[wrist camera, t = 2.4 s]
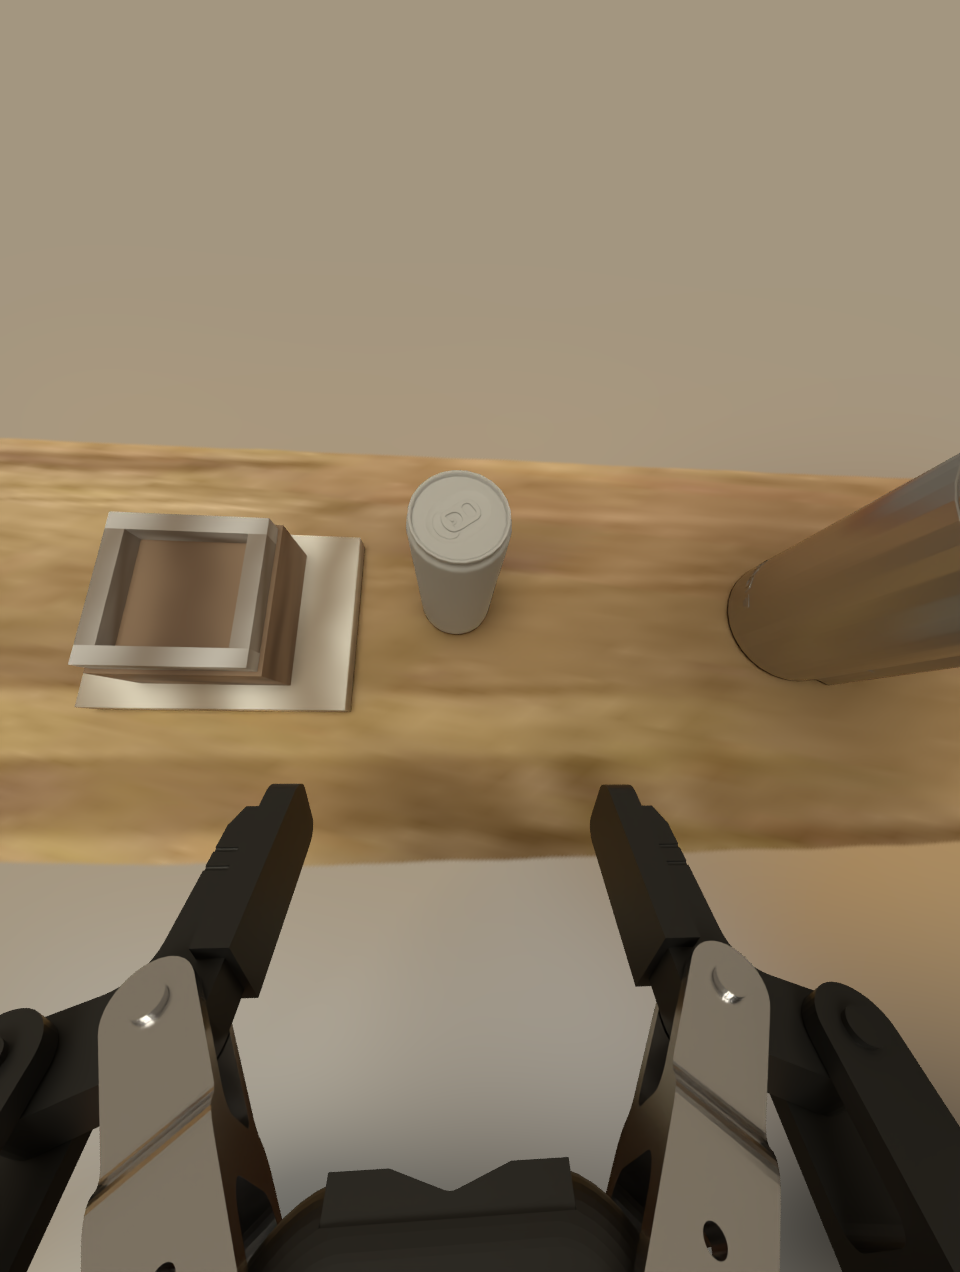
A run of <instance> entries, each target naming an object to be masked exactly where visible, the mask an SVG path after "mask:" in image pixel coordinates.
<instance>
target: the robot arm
mask: <svg viewBox="0 0 960 1272" xmlns="http://www.w3.org/2000/svg"><path fill="white" fill-rule="evenodd" d="M728 616H729V623H730V627H731V630H732V632H733V635H734V638H735V639H736V641H737V643H738V644H739V646H740V648H741V649H742V651H743V652H744V653H745V654H746V655H747V656H748V657H749V659H750V660H751V661H753V662H754V663H755V664H756V665H757V666H759V667H760V668H761V669H763V670H765V671H767V672H768V673H770V674H772V675H774V676H777V677H780V678H783V679H786V680H795V681H803V680H814V679H816V680H819V681H821V682H823V683H825V684H827V685H834V684H841V683H848V682H855V681H863V680H870V679H877V678H884V677H891V676H899V675H906V674H913V673H920V672H927V671H935V670H942V669H949V668H956V667H960V453H959V454H957V455H955V456H954V457H952V458H950V459H948V460H946V461H945V462H943V463H941V464H939V465H937V466H936V467H934V468H932V469H931V470H929V471H927V472H925V473H923V474H922V475H920V476H918V477H916V478H914V479H912V480H911V481H909V482H907V483H905V484H904V485H902V486H900V487H898V488H896V489H895V490H893V491H891V492H889V493H887V494H886V495H884V496H882V497H880V498H879V499H877V500H875V501H873V502H871V503H870V504H868V505H866V506H864V507H862V508H861V509H859V510H857V511H855V512H854V513H852V514H850V515H848V516H846V517H845V518H843V519H841V520H839V521H837V522H836V523H834V524H832V525H830V526H829V527H827V528H825V529H823V530H821V531H820V532H818V533H816V534H814V535H812V536H811V537H809V538H807V539H805V540H804V541H802V542H800V543H798V544H796V545H795V546H793V547H791V548H789V549H787V550H786V551H784V552H782V553H780V554H779V555H777V556H775V557H773V558H772V559H770V560H767V561H765V562H763V563H761V564H760V565H759V566H757V567H756V568H754V569H752V570H751V571H749V572H747V573H745V574H744V575H743V576H742V577H741V578H740V579H739V580H738V581H737V583H736V584H735V586H734V588H733V589H732V592H731V595H730V598H729V604H728ZM312 832H313V818H312V814H311V810H310V806H309V802H308V798H307V794H306V791H305V787H304V785H303V784H272V785H270V786H269V788H268V789H267V791H266V793H265V795H264V797H263V799H262V801H261V803H260V805H259V806H246V807H245V808H244V809H243V810H242V811H241V812H240V813H239V814H238V815H237V816H236V817H235V818H234V820H233V821H232V822H231V823H230V824H229V825H228V826H227V828H226V829H225V831H224V833H223V835H222V837H221V839H220V840H219V842H218V844H217V846H216V850H215V852H213V853H212V855H211V857H210V859H209V861H208V863H207V864H206V869H205V870H204V871H203V872H202V874H201V875H200V877H199V879H198V881H197V883H196V885H195V886H194V888H193V890H192V892H191V894H190V896H189V897H188V899H187V901H186V903H185V905H184V907H183V908H182V910H181V912H180V914H179V916H178V918H177V919H176V921H175V923H174V925H173V927H172V929H171V931H170V932H169V934H168V936H167V938H166V940H165V942H164V943H163V945H162V946H161V948H160V950H159V951H158V953H157V954H156V955H155V956H154V958H153V959H152V960H151V961H150V962H149V963H148V964H147V965H145V966H143V967H142V968H140V969H139V970H138V971H136V972H135V973H134V974H133V975H131V976H130V977H129V978H128V979H127V980H126V981H125V982H124V983H123V984H122V985H121V986H120V987H119V988H117V989H115V990H113V991H112V992H109V993H107V994H105V995H102V996H100V997H97V998H95V999H92V1000H89V1001H87V1002H84V1003H81V1004H79V1005H76V1006H73V1007H71V1008H68V1009H65V1010H63V1011H60V1012H57V1013H55V1014H52V1015H49V1016H47V1017H44V1016H43V1015H41V1014H40V1013H38V1012H37V1011H36V1010H33V1009H30V1008H21V1009H15V1010H12V1011H9V1012H6V1013H3V1014H1V1015H0V1272H27V1270H28V1268H29V1266H30V1264H31V1261H32V1259H33V1257H34V1255H35V1253H36V1250H37V1248H38V1246H39V1244H40V1242H41V1240H42V1238H43V1236H44V1233H45V1231H46V1229H47V1227H48V1225H49V1223H50V1220H51V1218H52V1216H53V1214H54V1212H55V1210H56V1207H57V1205H58V1203H59V1201H60V1199H61V1197H62V1194H63V1192H64V1190H65V1188H66V1186H67V1183H68V1181H69V1179H70V1177H71V1175H72V1173H73V1171H74V1169H75V1166H76V1164H77V1162H78V1160H79V1158H80V1156H81V1153H82V1151H83V1149H84V1147H85V1145H86V1143H87V1140H88V1138H89V1136H90V1134H91V1132H92V1130H93V1129H95V1128H97V1127H99V1126H100V1178H99V1183H98V1186H97V1189H96V1191H95V1192H94V1194H93V1195H92V1196H91V1198H90V1199H89V1201H88V1204H87V1207H86V1211H85V1215H84V1221H83V1227H82V1241H81V1272H780V1211H781V1210H780V1207H781V1185H780V1174H779V1168H778V1163H777V1160H776V1156H775V1155H774V1152H773V1151H772V1150H771V1149H770V1147H769V1145H768V1142H767V1138H766V1106H767V1093H769V1094H770V1095H771V1098H772V1100H773V1103H774V1105H775V1108H776V1110H777V1113H778V1115H779V1118H780V1120H781V1123H782V1125H783V1127H784V1130H785V1132H786V1135H787V1137H788V1140H789V1142H790V1145H791V1147H792V1149H793V1152H794V1154H795V1157H796V1159H797V1162H798V1164H799V1167H800V1169H801V1171H802V1174H803V1176H804V1179H805V1181H806V1184H807V1186H808V1189H809V1191H810V1194H811V1196H812V1199H813V1201H814V1203H815V1206H816V1208H817V1211H818V1213H819V1216H820V1218H821V1221H822V1223H823V1226H824V1228H825V1230H826V1233H827V1235H828V1238H829V1240H830V1243H831V1245H832V1248H833V1250H834V1252H835V1255H836V1257H837V1260H838V1262H839V1265H840V1267H841V1270H842V1272H960V1127H959V1125H958V1124H957V1122H956V1121H955V1119H954V1117H953V1116H952V1114H951V1113H950V1111H949V1110H948V1108H947V1107H946V1105H945V1104H944V1102H943V1101H942V1099H941V1098H940V1096H939V1095H938V1093H937V1091H936V1090H935V1088H934V1087H933V1085H932V1084H931V1082H930V1081H929V1079H928V1078H927V1076H926V1074H925V1073H924V1071H923V1070H922V1068H921V1067H920V1065H919V1064H918V1062H917V1061H916V1059H915V1058H914V1056H913V1055H912V1053H911V1051H910V1050H909V1048H908V1047H907V1045H906V1044H905V1042H904V1041H903V1039H902V1038H901V1036H900V1035H899V1033H898V1032H897V1030H896V1029H895V1027H894V1026H893V1024H892V1023H891V1022H890V1020H889V1019H888V1018H887V1017H886V1016H885V1014H884V1013H883V1012H882V1011H881V1010H880V1009H879V1008H878V1007H877V1006H876V1005H875V1004H874V1003H872V1002H871V1001H870V1000H869V999H868V998H866V997H865V996H864V995H862V994H861V993H859V992H858V991H856V990H854V989H853V988H851V987H849V986H846V985H844V984H841V983H837V982H826V983H823V984H821V985H820V986H819V987H818V988H817V989H815V990H811V989H808V988H805V987H802V986H799V985H797V984H794V983H791V982H788V981H785V980H782V979H780V978H777V977H774V976H771V975H769V974H766V973H764V972H762V971H760V970H758V969H756V968H755V967H754V966H753V965H752V964H751V963H750V962H749V961H748V960H747V959H746V958H745V957H744V956H743V955H742V954H741V953H739V952H738V951H737V950H735V949H734V948H732V946H730V944H729V943H728V941H727V940H726V938H725V937H724V936H723V934H722V932H721V930H720V928H719V926H718V924H717V922H716V920H715V918H714V916H713V914H712V912H711V910H710V908H709V906H708V904H707V902H706V900H705V898H704V896H703V894H702V891H701V889H700V887H699V885H698V883H697V881H696V879H695V877H694V875H693V873H692V871H691V869H690V867H689V865H687V864H686V859H685V857H684V855H683V853H682V851H681V849H680V848H679V847H678V843H677V841H676V839H675V837H674V835H673V833H672V831H671V829H670V827H669V824H668V823H667V822H666V821H665V820H664V818H663V817H662V816H661V815H660V814H659V813H658V812H657V811H656V810H655V809H654V808H653V806H641V803H640V801H639V799H638V797H637V794H636V792H635V790H634V789H633V787H632V786H631V785H602V786H601V787H600V790H599V793H598V796H597V799H596V803H595V806H594V809H593V812H592V815H591V820H590V832H591V839H592V843H593V846H594V850H595V853H596V856H597V859H598V863H599V866H600V869H601V873H602V876H603V879H604V883H605V886H606V889H607V893H608V896H609V899H610V903H611V906H612V909H613V913H614V915H615V919H616V923H617V926H618V929H619V933H620V935H621V939H622V942H623V945H624V949H625V953H626V956H627V959H628V963H629V966H630V969H631V972H632V976H633V979H634V982H635V986H652V989H653V993H654V995H655V999H656V1002H657V1003H656V1006H655V1009H654V1014H653V1018H652V1022H651V1026H650V1031H649V1035H648V1040H647V1043H646V1048H645V1052H644V1056H643V1061H642V1065H641V1069H640V1074H639V1078H638V1082H637V1087H636V1091H635V1095H634V1099H633V1103H632V1106H631V1109H630V1112H629V1115H628V1117H627V1120H626V1122H625V1125H624V1127H623V1130H622V1133H621V1136H620V1139H619V1142H618V1146H617V1150H616V1154H615V1158H614V1162H613V1166H612V1170H611V1174H610V1178H609V1182H608V1187H607V1191H606V1193H605V1192H603V1191H602V1190H601V1189H600V1188H598V1187H597V1186H596V1185H595V1184H593V1183H592V1182H591V1181H589V1180H587V1179H585V1178H584V1177H582V1176H581V1175H579V1174H577V1173H574V1172H572V1171H570V1165H569V1158H568V1157H563V1158H547V1159H533V1160H517V1161H510V1162H508V1163H506V1164H504V1165H502V1166H501V1167H499V1168H497V1169H495V1170H493V1171H491V1172H489V1173H487V1174H485V1175H483V1176H481V1177H479V1178H478V1179H476V1180H474V1181H472V1182H470V1183H468V1184H466V1185H464V1186H462V1187H461V1188H458V1189H456V1190H454V1191H446V1190H442V1189H440V1188H437V1187H435V1186H432V1185H430V1184H427V1183H425V1182H422V1181H419V1180H417V1179H414V1178H412V1177H409V1176H407V1175H404V1174H402V1173H399V1172H396V1171H394V1170H391V1169H376V1170H361V1171H345V1172H329V1173H328V1178H327V1184H326V1187H324V1188H322V1189H320V1190H319V1191H317V1192H315V1193H314V1194H312V1195H311V1196H310V1197H308V1198H307V1199H305V1200H304V1201H302V1202H301V1203H300V1204H299V1205H298V1206H296V1207H295V1208H294V1209H293V1210H292V1211H291V1212H290V1213H289V1214H288V1215H286V1216H285V1217H284V1218H283V1219H282V1216H281V1213H280V1208H279V1203H278V1199H277V1195H276V1191H275V1186H274V1182H273V1178H272V1173H271V1170H270V1166H269V1163H268V1159H267V1156H266V1153H265V1150H264V1147H263V1145H262V1142H261V1140H260V1137H259V1135H258V1132H257V1129H256V1126H255V1122H254V1118H253V1113H252V1109H251V1105H250V1101H249V1096H248V1092H247V1087H246V1082H245V1078H244V1074H243V1069H242V1065H241V1060H240V1056H239V1052H238V1047H237V1043H236V1038H235V1035H234V1030H233V1025H232V1022H233V1019H234V1016H235V1014H236V1011H237V1008H238V1005H239V1003H240V999H241V998H258V997H259V994H260V991H261V988H262V985H263V982H264V979H265V976H266V973H267V970H268V967H269V964H270V961H271V958H272V955H273V952H274V949H275V946H276V943H277V940H278V938H279V934H280V932H281V929H282V926H283V922H284V919H285V916H286V914H287V911H288V908H289V904H290V902H291V899H292V896H293V893H294V890H295V887H296V884H297V881H298V878H299V875H300V872H301V869H302V866H303V863H304V860H305V857H306V854H307V851H308V848H309V845H310V842H311V838H312ZM709 1247H711V1249H712V1255H711V1254H710V1253H709V1251H708V1249H707V1248H709Z"/></svg>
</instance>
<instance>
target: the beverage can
mask: <svg viewBox="0 0 960 1272" xmlns="http://www.w3.org/2000/svg"><path fill="white" fill-rule="evenodd" d="M406 531H407V535H408V540H409V544H410V549H411V554H412V558H413V563H414V567H415V572H416V576H417V581H418V586H419V590H420V595H421V599H422V604H423V608H424V612H425V614H426V616H427V618H428V620H429V621H430V622H431V623H432V624H433V625H434V626H435V627H436V628H438V629H440V630H441V631H444V632H447V633H451V634H462V633H466V632H470V631H472V630H473V629H475V628H477V627H478V626H479V625H480V624H481V622H482V621H483V620H484V618H485V616H486V614H487V612H488V609H489V606H490V602H491V599H492V595H493V592H494V588H495V585H496V582H497V579H498V576H499V573H500V570H501V567H502V564H503V561H504V557H505V554H506V551H507V547H508V544H509V540H510V537H511V532H512V529H511V510H510V507H509V504H508V501H507V499H506V497H505V496H504V494H503V492H502V491H501V489H500V488H499V487H497V486H496V485H495V484H494V483H493V482H492V481H491V480H489V479H487V478H485V477H484V476H482V475H480V474H477V473H473V472H470V471H461V470H452V471H447V472H441V473H439V474H437V475H434V476H432V477H430V478H428V479H427V480H426V481H425V482H423V483H422V484H421V485H420V486H419V487H418V488H417V490H416V491H415V492H414V494H413V495H412V498H411V500H410V503H409V506H408V514H407V521H406Z"/></svg>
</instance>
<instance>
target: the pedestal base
mask: <svg viewBox="0 0 960 1272" xmlns="http://www.w3.org/2000/svg"><path fill="white" fill-rule="evenodd" d="M364 550H365V547H364V545H363V543H362V541H361V538H354V537H329V536H304V535H290V533H289V532H288V531H287V530H286V528H285V527H284V526H283V525H274V523H273V522H272V521H271V520H270V519H269V518H250V517H226V516H203V515H179V514H155V513H132V512H109V514H108V518H107V522H106V525H105V529H104V533H103V537H102V540H101V544H100V548H99V551H98V555H97V559H96V563H95V566H94V570H93V574H92V578H91V581H90V585H89V589H88V592H87V596H86V600H85V604H84V607H83V611H82V615H81V618H80V622H79V626H78V630H77V633H76V637H75V641H74V645H73V648H72V652H71V656H70V659H69V663H68V665H73V666H79V667H84V672H83V677H82V681H81V685H80V688H79V692H78V696H77V700H76V704H75V707H79V708H92V709H151V710H236V711H322V712H350V711H351V700H352V688H353V677H354V665H355V654H356V642H357V631H358V619H359V608H360V596H361V585H362V573H363V562H364Z"/></svg>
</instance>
